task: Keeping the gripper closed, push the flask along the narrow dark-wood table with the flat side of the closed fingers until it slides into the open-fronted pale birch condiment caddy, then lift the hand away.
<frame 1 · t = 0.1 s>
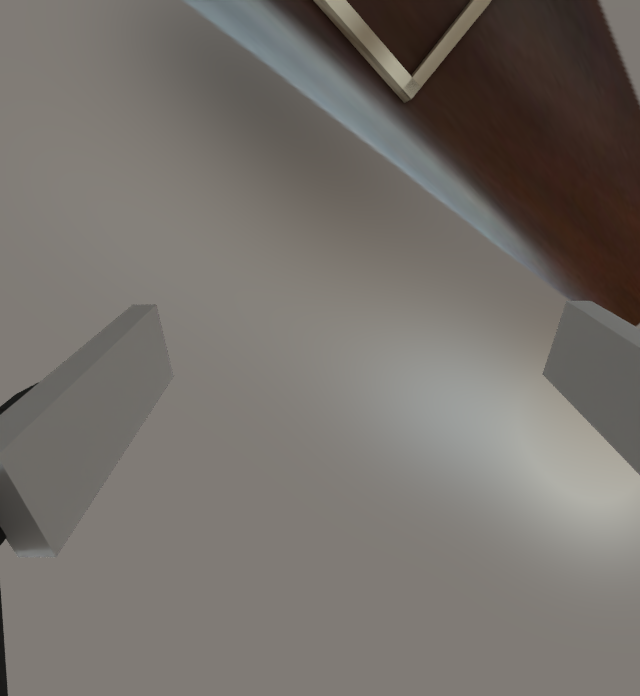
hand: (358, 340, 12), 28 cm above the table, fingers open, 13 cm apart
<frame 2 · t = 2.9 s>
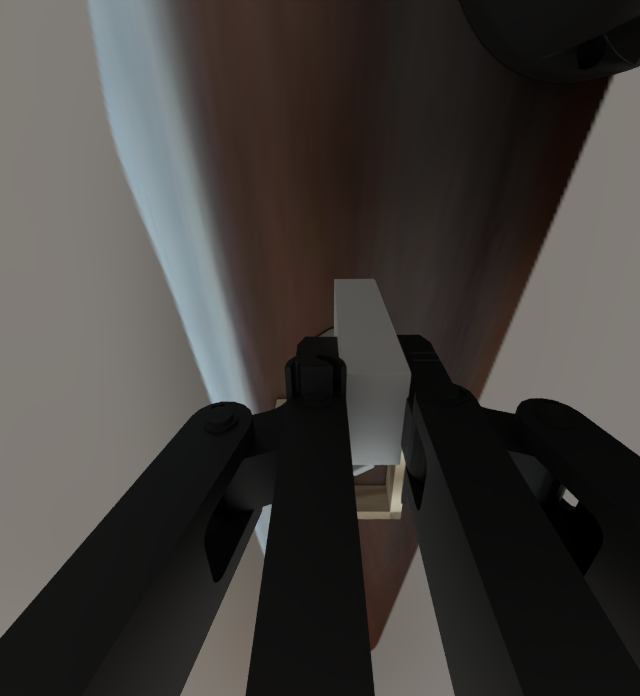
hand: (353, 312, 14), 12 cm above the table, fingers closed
caddy: (340, 443, 34), on the table
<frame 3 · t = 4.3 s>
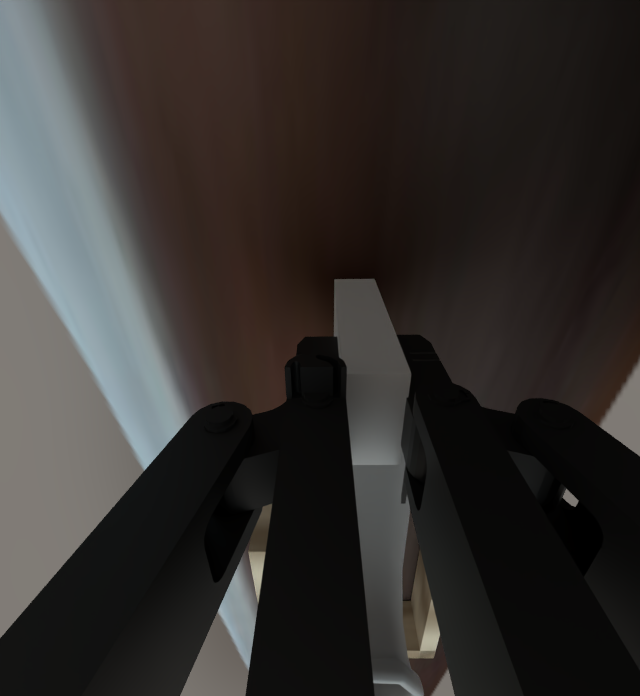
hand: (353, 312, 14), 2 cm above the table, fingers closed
flask: (351, 458, 20), on the table
caddy: (349, 554, 24), on the table
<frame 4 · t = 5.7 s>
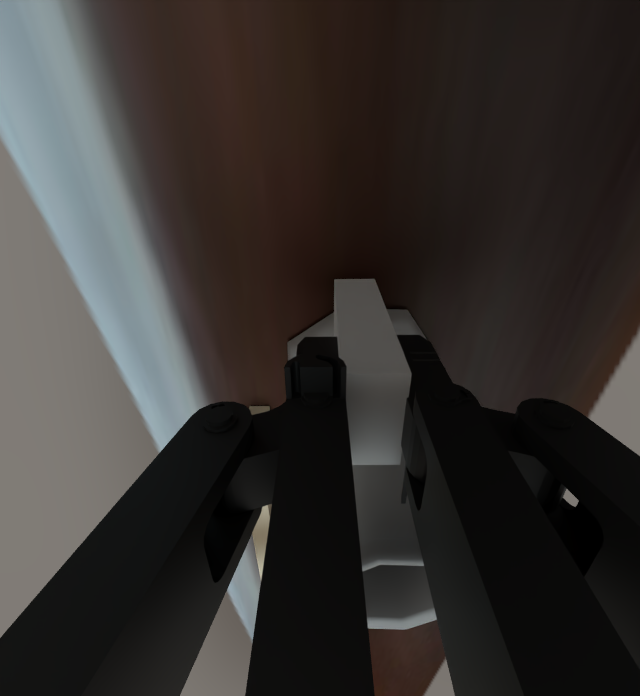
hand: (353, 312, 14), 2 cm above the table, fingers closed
flask: (360, 370, 18), on the table, touching gripper
caddy: (356, 476, 21), on the table
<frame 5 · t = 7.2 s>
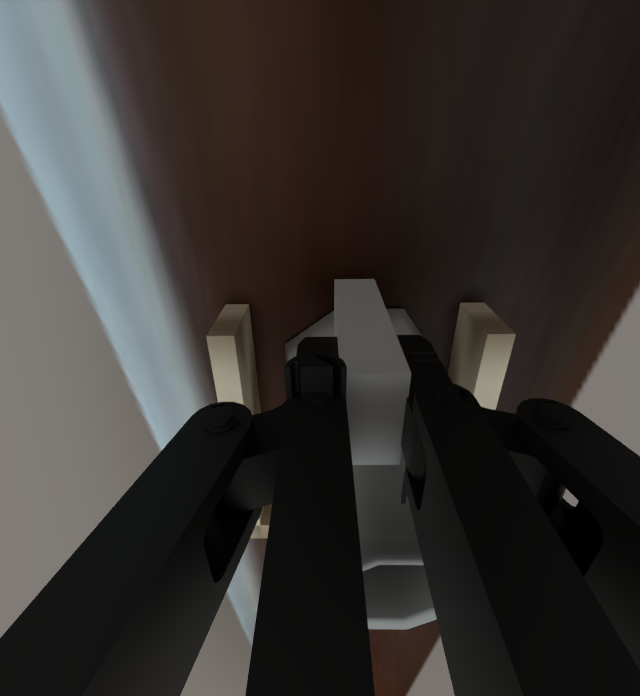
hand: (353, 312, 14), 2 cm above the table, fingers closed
flask: (358, 370, 18), on the table, touching gripper
caddy: (350, 398, 18), on the table
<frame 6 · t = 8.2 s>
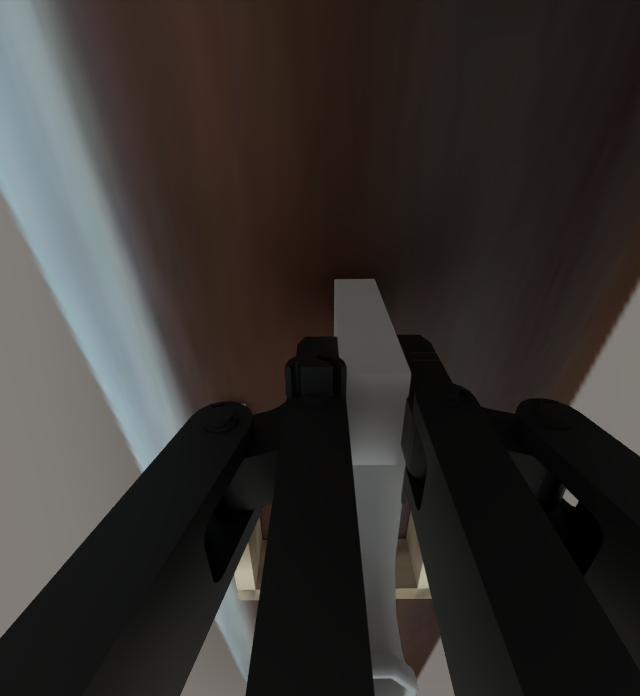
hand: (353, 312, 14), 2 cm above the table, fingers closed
flask: (343, 453, 20), on the table
caddy: (335, 475, 21), on the table
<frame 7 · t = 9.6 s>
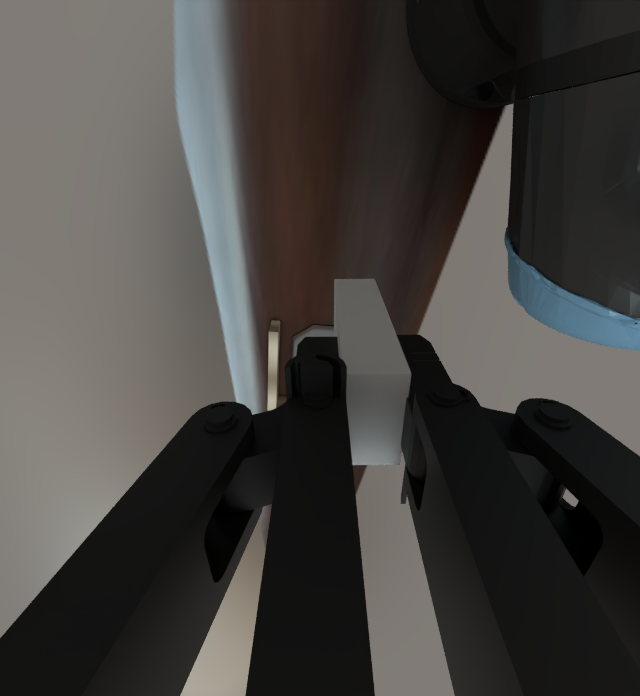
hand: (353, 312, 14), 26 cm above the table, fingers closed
flask: (320, 349, 44), on the table
caddy: (316, 360, 45), on the table
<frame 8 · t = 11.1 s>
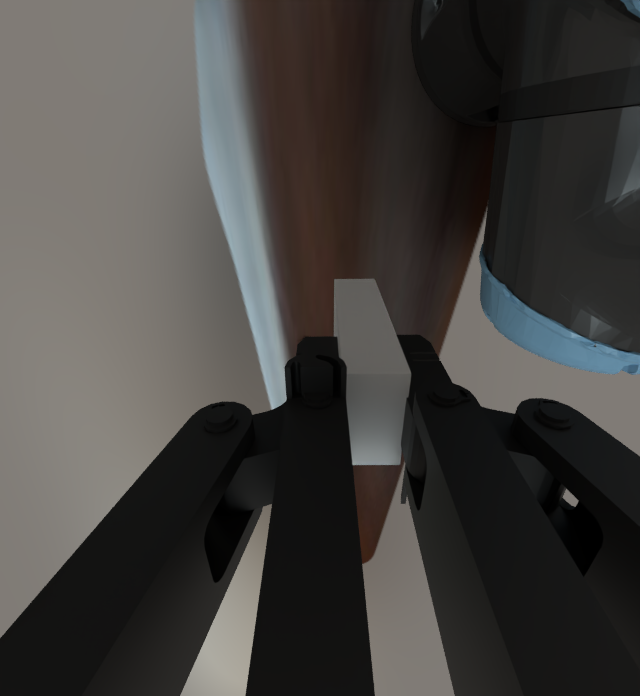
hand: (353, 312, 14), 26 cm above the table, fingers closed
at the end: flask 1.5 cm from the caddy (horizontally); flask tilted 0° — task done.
